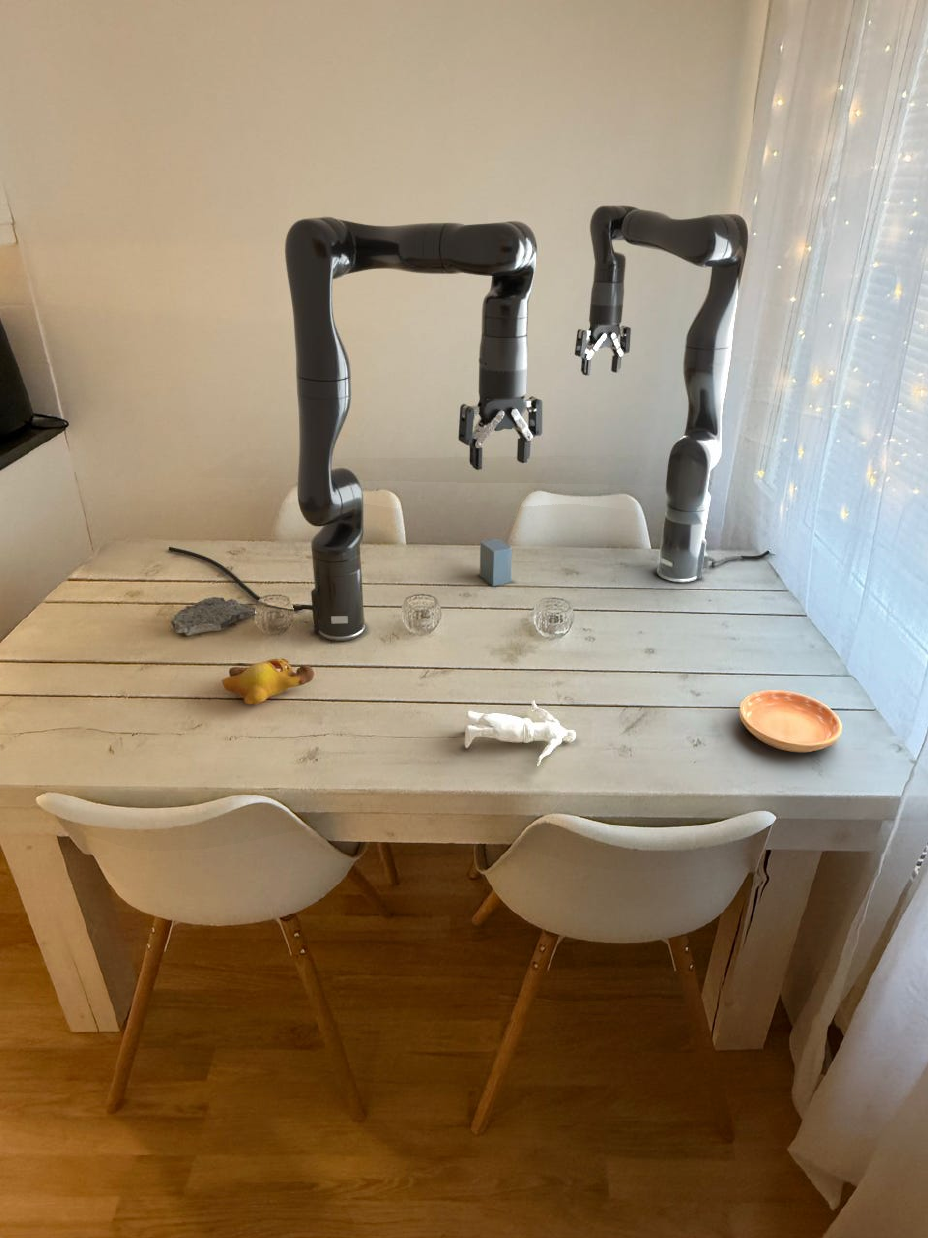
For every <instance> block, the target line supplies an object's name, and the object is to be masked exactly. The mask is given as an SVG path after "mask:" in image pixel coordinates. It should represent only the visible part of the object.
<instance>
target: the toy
mask: <svg viewBox="0 0 928 1238" xmlns="http://www.w3.org/2000/svg"><path fill="white" fill-rule="evenodd" d="M228 671H229V672H228V674H229V677H225V678H222V679H221V684H222V686H223V689H224V690H225V691H228V692H230V693H235V694H237V695H238V696H240V697H241V698H242V699H243V700H244V703H245V704H246V705H259V704H261V703H263V702H265V701H266V700H267V699H269V698H271V697H274V696H277V695H280V694H282V693H283V692H284V691H286V690H287V689H290V688H296V687H299V686H303V685H305V684H307V683H310V682H311V681H313V679H314V677H315V671H314V669H313V667H311V666H310V665H308V664H301V665H300V666H299V667H298V668H297V669H296V671H295V672H294V670H293V667H292V666H291V664H289V661H288V660H286V658H271V659H268V660H266V661H265V660H264V661H260V662H255V663H254V664H251V665H250V666H247V667H245V666H244V667H239V666H232V667H230V668H229V670H228Z"/></svg>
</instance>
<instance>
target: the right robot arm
mask: <svg viewBox="0 0 928 1238" xmlns="http://www.w3.org/2000/svg"><path fill="white" fill-rule="evenodd" d="M589 233H590V241H591V245H592V246H591V247H592V252H593V258H594V267H593V279H592V286H591V292H590V304H589V316H588V322H589V328H588V329H581V328H579V329H577V332H576V340H575V348H574V355H575V356H576V357H579V358H581V365H580V372H581V374H582V375H583V376H590V375H591V366H592V365H591V364H592V359H591V358H592V357H593V356H594V354H595V353H596V352H597V351H598V350H599V349H604V348H607V349H610V350H611V352H612V354H613V355H612V356H611V365H610V366H611V368H610V371H611V372H612V373H615V374H616V373H619V372H620V370H621V366H622V357H623V356H624V355H625V354H629V353H630V351H631V350H630V349H631V336H632V335H631V334H632V333H631V332H632V328H631V327H630V326H626V325H622V326H621V327H620V325H621V323H622V321H623V320H622V319H623V310H624V308H623V307H624V299H625V278H626V266H627V257H626V256H625V254H623V253H621V252H618V251H615V250H614V245H613V241H625V242H626V243H627V244H629V245H632V246H636V247H641V248H646V249H651V250H656V251H662V252H666V253H668V254H670V255H673V256H676V257H678V258H679V259H681V260H683V261H685V262H688V263H689V264H691V265H693V266H696V267H699V268H711V271H710V272H711V273H710V279H709V286H708V289H707V293H706V295H705V298H704V300H703V302H702V304H701V306H700V307H699V310H698V311H697V312H696V314H695V316H694V318H693V320H692V322H691V324H690V326H689V328H688V330H687V332H686V336H685V340H684V341H685V342H684V349H683V350H684V351H683V361H682V362H683V363H682V375H683V380H684V381H683V382H684V386H685V391H686V396H687V404H688V405H687V418H686V424H685V430H684V435H683V437H681V438H680V439H678V440H677V441H676V442H675V443H674V444H673V445H672V447H671V449H670V452H669V456H668V461H667V470H666V480H665V481H666V482H665V493H666V504H665V510H664V517H663V526H662V533H661V542H660V548H659V555H658V563H657V567H656V574H657V575H658V577H660V578H661V579H664V580H666V581H669V582H673V583H691V582H694V581H696V580H701V578H702V572H703V569H708V566H709V565H708V564H709V561H710V562H711V566H712V567H714V568H715V567H718V566H720V565H722V564H724V563H726V562H728V561H731V560H759V559H762V558H765V557H766V556H768V555H769V554H770V553H769V551H768V550H766V551H765V552H763V553H761V554H758V555H731V556H726V557H724V558H722V559H720V560H718V561H717V560H716V558H714V557H711V556H710V555H709V554H708V553H707V552H706V548H707V540H706V539H705V532H706V526H707V522H708V521H707V520H708V515H709V508H710V503H711V494H710V493H709V491H708V490H709V489H708V488H709V481H710V476H711V475H710V474H711V470H712V469H713V468H714V467H715V466H716V465H717V463H718V462H719V460H720V458H721V456H722V445H723V444H722V440H723V439H722V433H723V431H722V430H723V427H722V424H723V423H722V422H723V419H722V418H723V405H724V399H725V394H726V389H727V382H728V374H729V368H730V362H731V353H732V344H733V331H734V323H735V316H736V310H737V301H738V296H739V290H740V286H741V280H742V277H743V276H742V275H743V270H744V267H745V262H746V258H747V254H748V253H747V252H748V246H749V229H748V224H747V222H746V220H745V219H744V218H743V216H741V215H740V214H736V213H723V214H721V213H720V214H719V213H718V214H707V215H704V216H700V217H692V218H683V219H682V218H681V219H680V218H679V219H678V218H672V217H671V216H669V215H668V214H665V213H664V212H659V211H654V210H648V209H640V208H639V207H635V206H632V205H601V206H598V207H597V208H596V209H595V210H594V212H593V213H592V215H591V218H590V222H589ZM618 337H619V340H618Z"/></svg>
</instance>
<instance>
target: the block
mask: <svg viewBox="0 0 928 1238" xmlns="http://www.w3.org/2000/svg"><path fill="white" fill-rule="evenodd" d="M479 547H480V548H479V549H480V550H479V576H480V577H481V578H482V579H483V580H485V581H486V582H487V583H488V584H490V585H491V586H492V587H495V586H496V587H497V586H500V585H503V584H509V583H511V582H512V565H513V564H512V561H513V547H512V546H510V545H508V544H507V543H506V542H504V541H503V540H501V539H500V538H498V537H497V538H493V539H488V540H482V541H480V546H479Z"/></svg>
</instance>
